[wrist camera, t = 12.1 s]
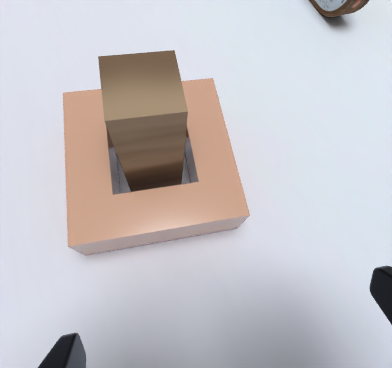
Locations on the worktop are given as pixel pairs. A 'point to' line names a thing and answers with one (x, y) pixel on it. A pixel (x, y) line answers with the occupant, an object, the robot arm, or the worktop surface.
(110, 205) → the socket
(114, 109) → the peg
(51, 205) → the worktop surface
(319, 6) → the tin
